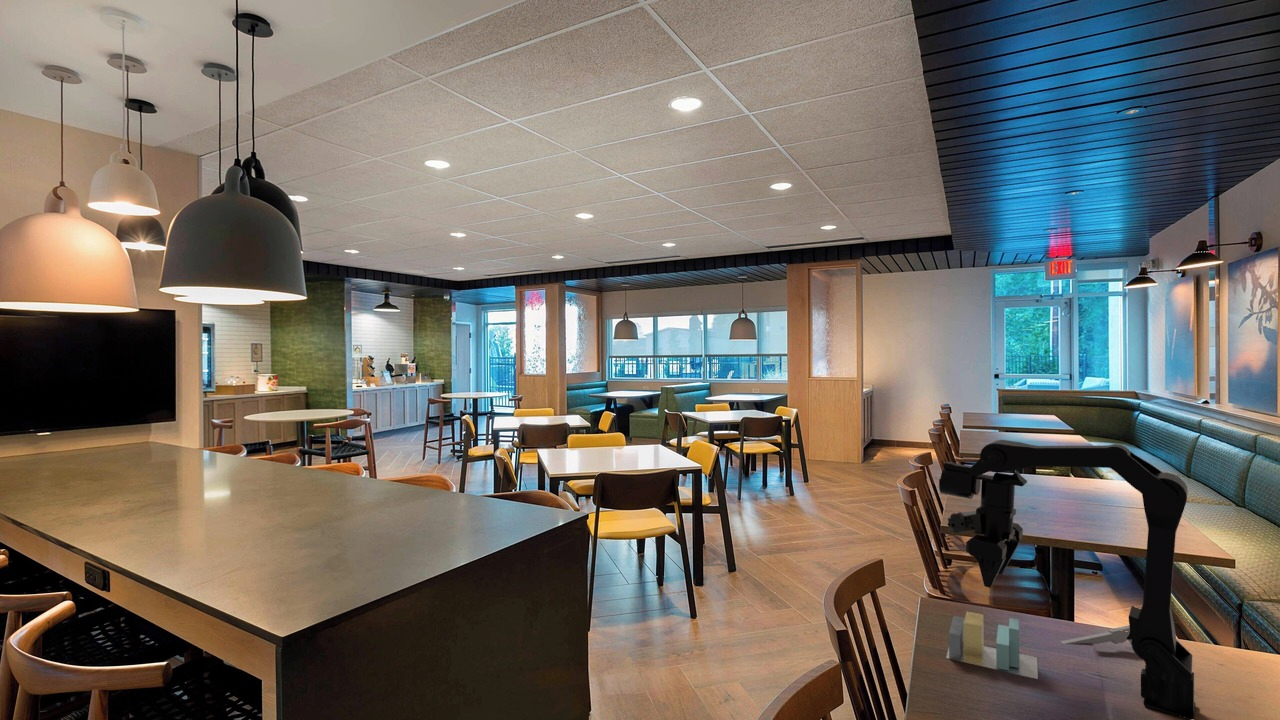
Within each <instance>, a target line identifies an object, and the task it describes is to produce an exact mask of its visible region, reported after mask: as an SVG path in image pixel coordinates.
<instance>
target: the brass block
mask: <svg viewBox="0 0 1280 720" xmlns="http://www.w3.org/2000/svg"><path fill="white" fill-rule="evenodd" d="M984 629H985V628H984V614H982V613H977V612H971V611H965V616H964V658H965V659H969V660H974V661H978V662H982V658H983V651H984V646H985V644H984V641H985V640H984V636H985V635H984V633H985V632H984Z"/></svg>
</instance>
